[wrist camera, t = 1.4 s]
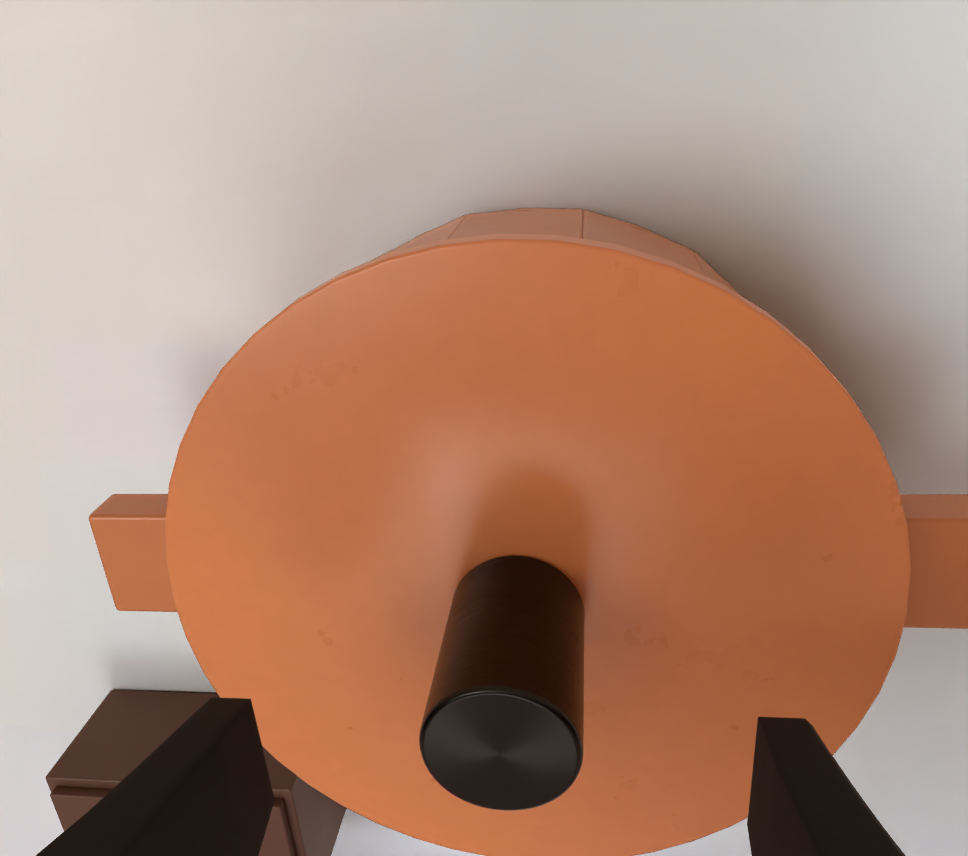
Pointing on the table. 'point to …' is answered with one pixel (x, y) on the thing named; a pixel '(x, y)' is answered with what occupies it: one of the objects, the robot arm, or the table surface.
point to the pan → (930, 518)
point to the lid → (535, 544)
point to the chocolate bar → (141, 730)
